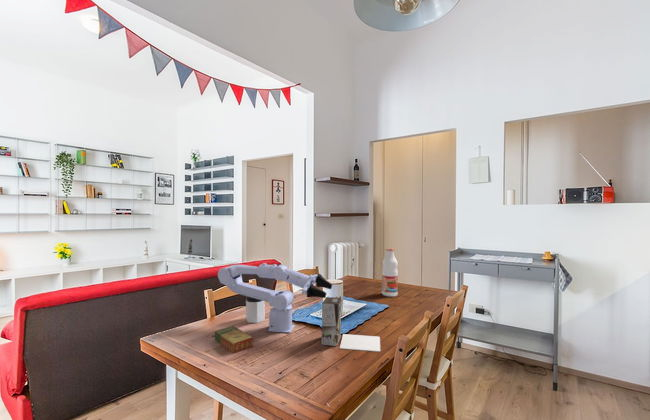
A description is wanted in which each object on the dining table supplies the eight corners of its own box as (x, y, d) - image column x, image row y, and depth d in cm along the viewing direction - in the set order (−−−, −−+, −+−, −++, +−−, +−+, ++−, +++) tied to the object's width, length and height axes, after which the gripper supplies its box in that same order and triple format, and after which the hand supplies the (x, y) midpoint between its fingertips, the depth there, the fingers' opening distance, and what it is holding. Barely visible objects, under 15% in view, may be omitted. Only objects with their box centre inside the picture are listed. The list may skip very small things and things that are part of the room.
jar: (244, 317, 149) (244, 292, 149) (261, 315, 152) (262, 291, 152) (247, 324, 141) (247, 297, 141) (265, 322, 144) (266, 295, 144)
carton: (233, 354, 113) (233, 343, 113) (213, 340, 125) (213, 330, 124) (253, 347, 119) (253, 336, 118) (233, 335, 130) (233, 324, 130)
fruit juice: (389, 291, 197) (389, 247, 197) (400, 295, 190) (401, 248, 189) (378, 294, 192) (379, 248, 192) (390, 297, 184) (390, 250, 184)
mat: (339, 348, 118) (339, 347, 118) (343, 334, 131) (343, 334, 131) (380, 351, 115) (380, 351, 115) (379, 337, 128) (379, 336, 128)
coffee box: (337, 346, 120) (338, 304, 119) (321, 344, 121) (321, 302, 121) (341, 336, 129) (341, 297, 128) (325, 335, 130) (326, 296, 130)
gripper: (293, 278, 126) (324, 291, 122) (307, 264, 139) (336, 275, 136) (290, 293, 128) (321, 306, 125) (304, 278, 141) (332, 289, 138)
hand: (328, 291), depth 130 cm, fingers open, 7 cm apart
